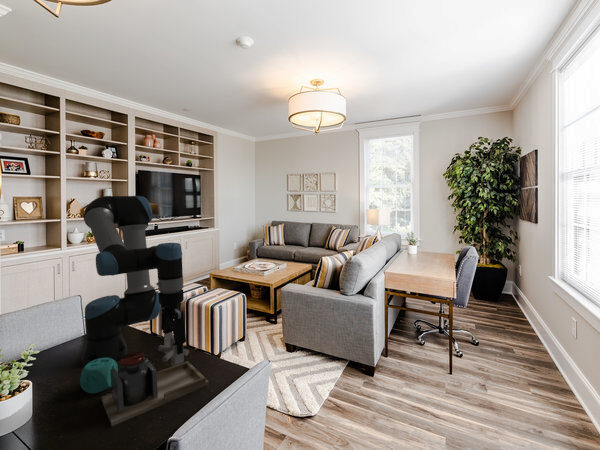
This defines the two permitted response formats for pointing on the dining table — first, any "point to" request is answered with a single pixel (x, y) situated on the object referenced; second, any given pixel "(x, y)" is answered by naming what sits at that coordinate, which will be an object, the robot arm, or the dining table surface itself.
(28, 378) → the dining table surface
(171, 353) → the pipe connector
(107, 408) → the jig
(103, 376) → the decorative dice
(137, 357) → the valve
